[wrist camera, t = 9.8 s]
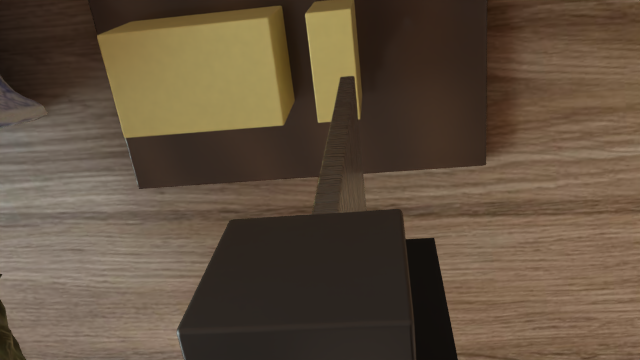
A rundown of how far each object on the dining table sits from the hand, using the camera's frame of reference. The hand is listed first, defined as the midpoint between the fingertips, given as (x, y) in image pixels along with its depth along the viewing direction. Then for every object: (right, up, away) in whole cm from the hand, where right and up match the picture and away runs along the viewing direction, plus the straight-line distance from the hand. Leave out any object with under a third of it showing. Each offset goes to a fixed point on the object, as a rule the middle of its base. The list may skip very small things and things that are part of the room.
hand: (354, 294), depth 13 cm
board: (-2, +10, +17) cm, 20 cm away
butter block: (-6, +9, +17) cm, 20 cm away
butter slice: (0, +9, +16) cm, 18 cm away
